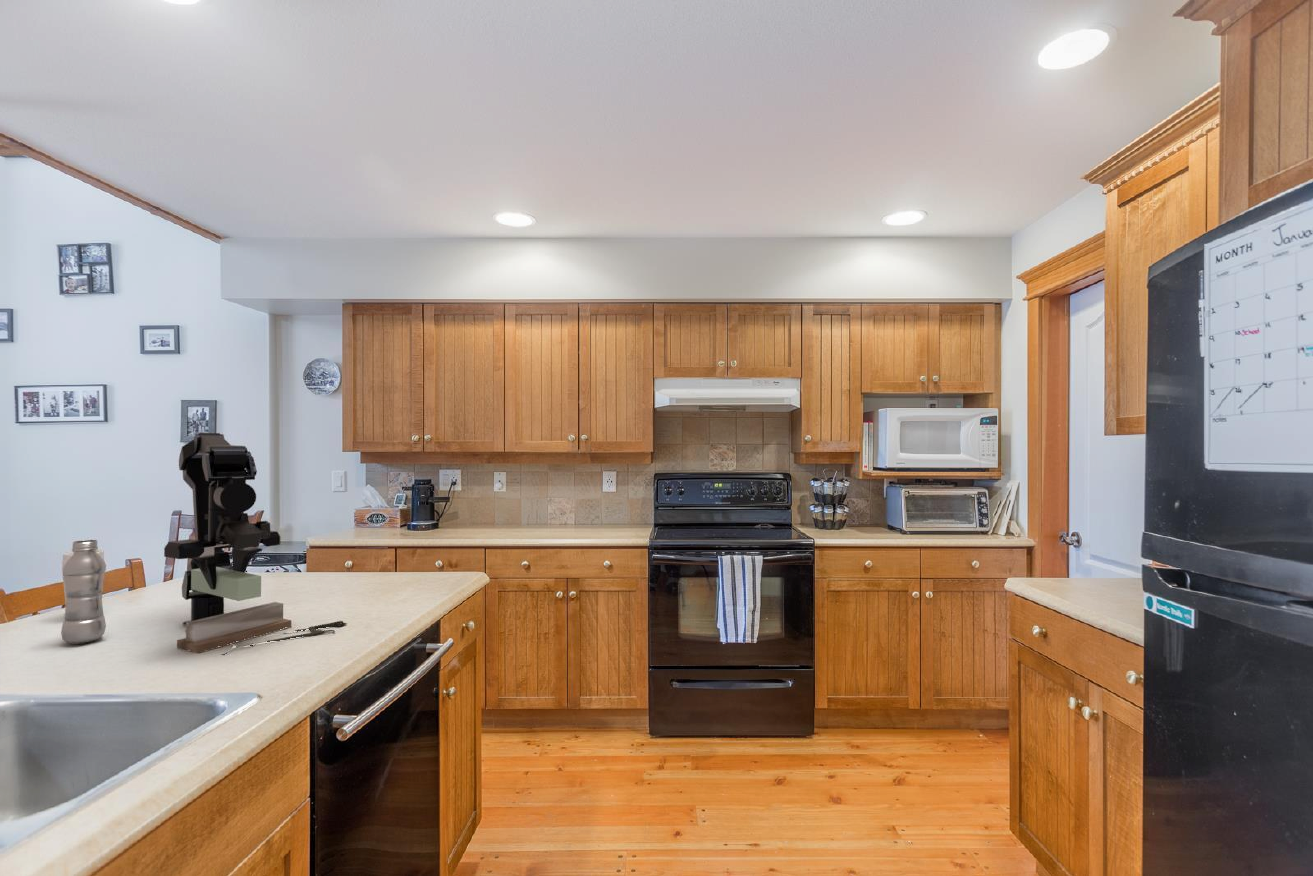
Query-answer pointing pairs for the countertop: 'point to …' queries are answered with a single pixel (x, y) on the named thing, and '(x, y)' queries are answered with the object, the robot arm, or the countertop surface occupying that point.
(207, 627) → the ridge stand
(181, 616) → the countertop surface
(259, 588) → the bar
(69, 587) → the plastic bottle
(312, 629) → the brown tree branch
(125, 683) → the countertop surface
